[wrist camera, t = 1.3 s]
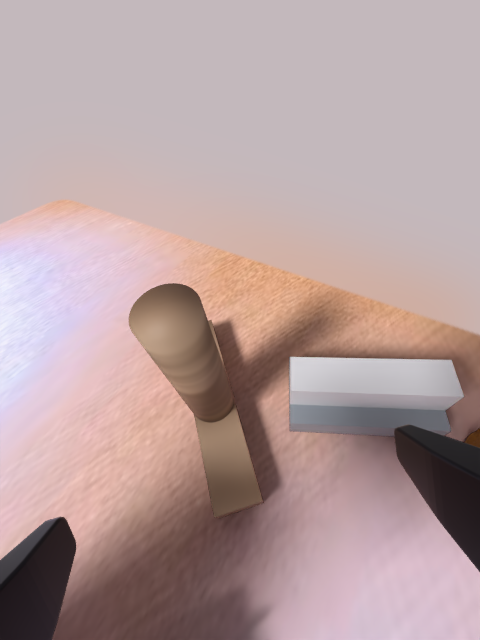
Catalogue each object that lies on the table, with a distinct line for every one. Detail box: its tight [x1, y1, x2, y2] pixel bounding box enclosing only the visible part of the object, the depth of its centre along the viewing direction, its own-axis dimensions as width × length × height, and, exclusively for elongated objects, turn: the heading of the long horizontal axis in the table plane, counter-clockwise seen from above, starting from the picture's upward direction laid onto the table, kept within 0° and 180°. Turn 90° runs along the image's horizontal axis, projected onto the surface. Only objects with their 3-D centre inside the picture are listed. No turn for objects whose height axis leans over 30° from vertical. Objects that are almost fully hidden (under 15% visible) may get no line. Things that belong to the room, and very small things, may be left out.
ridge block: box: [289, 357, 464, 436], centre depth 21 cm, size 10×5×4 cm, turn 85°
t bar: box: [129, 283, 264, 518], centre depth 18 cm, size 14×3×13 cm, turn 16°
